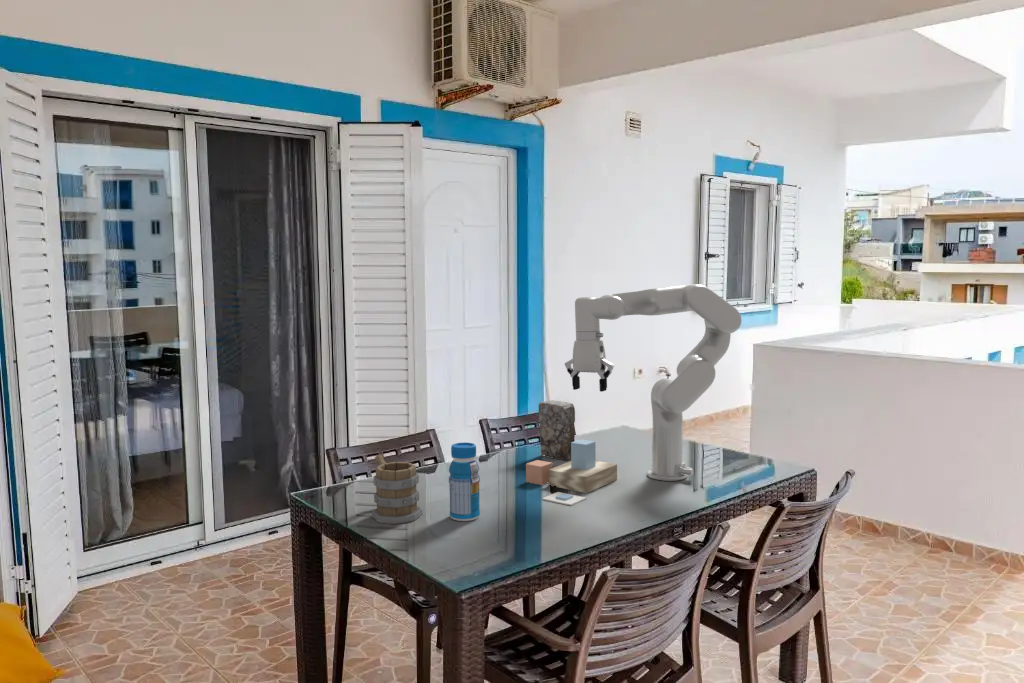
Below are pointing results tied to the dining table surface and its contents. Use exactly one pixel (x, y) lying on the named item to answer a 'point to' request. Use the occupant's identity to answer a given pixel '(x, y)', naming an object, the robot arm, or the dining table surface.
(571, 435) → the stone block
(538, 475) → the terracotta cube
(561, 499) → the card
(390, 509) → the tankard
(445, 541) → the dining table surface
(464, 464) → the beverage bottle
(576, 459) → the blue block
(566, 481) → the ash base block
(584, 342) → the robot arm
